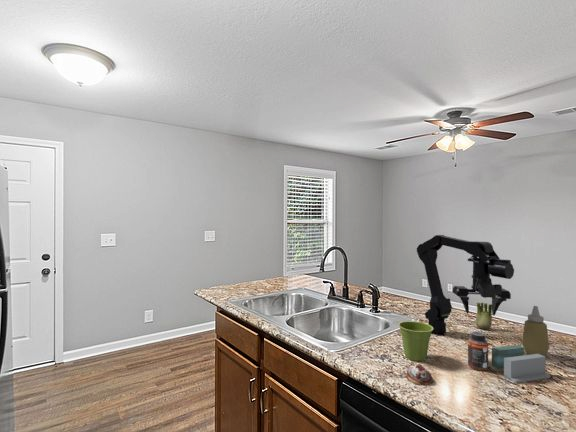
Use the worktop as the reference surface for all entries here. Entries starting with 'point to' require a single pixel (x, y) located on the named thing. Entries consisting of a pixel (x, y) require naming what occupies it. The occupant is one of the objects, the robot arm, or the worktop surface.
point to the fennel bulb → (484, 316)
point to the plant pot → (415, 339)
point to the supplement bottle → (478, 351)
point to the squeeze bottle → (535, 334)
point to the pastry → (419, 375)
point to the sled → (503, 355)
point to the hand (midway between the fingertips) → (480, 314)
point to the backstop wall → (525, 368)
